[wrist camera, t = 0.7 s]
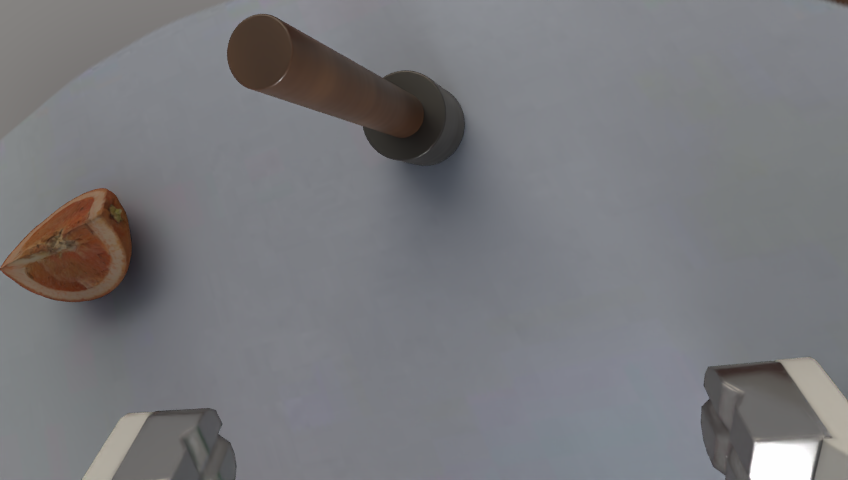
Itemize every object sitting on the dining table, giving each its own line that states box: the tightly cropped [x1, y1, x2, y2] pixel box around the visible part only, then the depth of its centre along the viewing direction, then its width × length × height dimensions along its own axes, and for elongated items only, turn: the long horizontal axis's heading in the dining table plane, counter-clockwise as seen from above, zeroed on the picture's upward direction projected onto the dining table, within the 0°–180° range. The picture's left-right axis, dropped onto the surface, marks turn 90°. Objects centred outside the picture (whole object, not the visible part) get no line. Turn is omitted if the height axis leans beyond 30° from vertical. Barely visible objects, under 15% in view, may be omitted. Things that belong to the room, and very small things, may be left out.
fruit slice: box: [0, 188, 132, 302], centre depth 39 cm, size 8×7×5 cm
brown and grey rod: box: [227, 14, 465, 166], centre depth 26 cm, size 4×4×17 cm
